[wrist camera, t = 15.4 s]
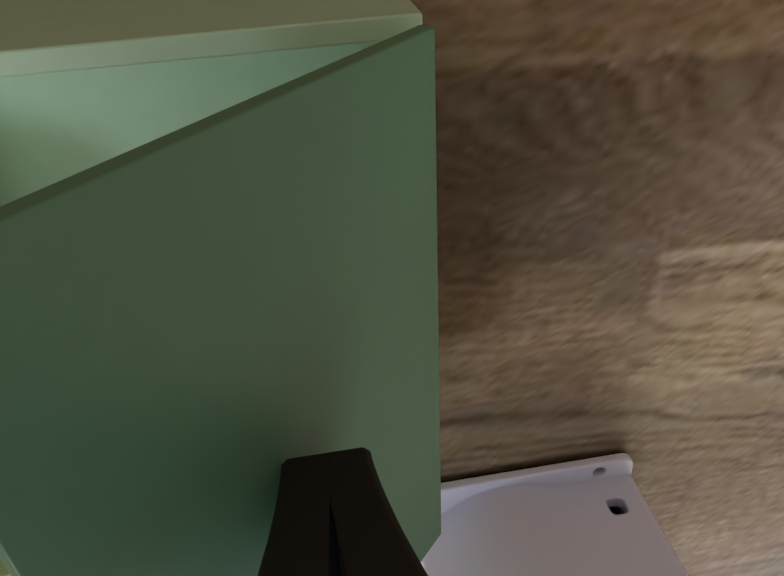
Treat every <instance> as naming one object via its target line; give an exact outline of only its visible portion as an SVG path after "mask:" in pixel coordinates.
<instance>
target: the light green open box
mask: <svg viewBox="0 0 784 576" xmlns="http://www.w3.org/2000/svg"><path fill="white" fill-rule="evenodd" d="M418 25H423V24H422V13H421V12H420V11H419V10H418V8H417V7H416V6H415V5H414V4H413V3H412V1H411V0H0V207H1V206H3V205H5V204H8V203H10V202H12V201H15V200H17V199H19V198H21V197H24V196H26V195H28V194H31V193H33V192H35V191H38V190H40V189H42V188H45V187H47V186H49V185H51V184H54V183H56V182H58V181H61V180H63V179H65V178H68V177H70V176H72V175H74V174H77V173H79V172H81V171H84V170H86V169H88V168H91V167H93V166H95V165H98V164H100V163H102V162H104V161H107V160H109V159H111V158H114V157H116V156H118V155H121V154H123V153H125V152H128V151H130V150H132V149H134V148H137V147H139V146H141V145H144V144H146V143H148V142H151V141H153V140H155V139H158V138H160V137H162V136H164V135H167V134H169V133H171V132H174V131H176V130H178V129H181V128H183V127H185V126H187V125H190V124H192V123H194V122H197V121H199V120H201V119H204V118H206V117H208V116H211V115H213V114H215V113H217V112H220V111H222V110H224V109H227V108H229V107H231V106H234V105H236V104H238V103H241V102H243V101H245V100H247V99H250V98H252V97H254V96H257V95H259V94H261V93H264V92H266V91H268V90H271V89H273V88H275V87H277V86H280V85H282V84H284V83H287V82H289V81H291V80H294V79H296V78H298V77H300V76H303V75H305V74H307V73H310V72H312V71H314V70H317V69H319V68H321V67H324V66H326V65H328V64H330V63H333V62H335V61H337V60H340V59H342V58H344V57H347V56H349V55H351V54H354V53H356V52H358V51H360V50H363V49H365V48H367V47H370V46H372V45H374V44H377V43H379V42H381V41H384V40H386V39H388V38H390V37H393V36H395V35H397V34H400V33H402V32H404V31H407V30H409V29H411V28H413V27H416V26H418ZM0 576H11V575H10V573H9V572H8V570H7V569H6V567H5V566H4V564H3V562H2V561H1V559H0Z"/></svg>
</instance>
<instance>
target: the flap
mask: <svg viewBox="0 0 784 576" xmlns="http://www.w3.org/2000/svg"><path fill="white" fill-rule="evenodd" d="M360 447H364V448H366V449H368V450H369V451H371V455H372V459H373V462H374V466H375V468H376V471H377V474H378V477H379V479H380V482H381V485H382V487H383V489H384V492H385V494H386V496H387V499H388V501H389V503H390V505H391V507H392V509H393V511H394V513H395V515H396V518H397V520H398V522H399V524H400V526H401V528H402V529H403V531H404V533H405V535H406V537H407V539H408V541H409V542H410V544H411V546H412V548H413V550H414V551H415V553H416V555H417V557H418V559H419V560H420V562H421V561H422V560H423V558H424V557H425V556H426V554H427V553H428V551H429V550H430V549H431V547H432V546H433V544H434V543H435V542H436V540H437V539H438V537H439V536H440V535H441V475H440V399H439V322H438V246H437V169H436V93H435V28H434V27H433V26H426V25H418V26H416V27H413V28H411V29H409V30H407V31H404V32H402V33H400V34H397V35H395V36H393V37H390V38H388V39H386V40H384V41H381V42H379V43H377V44H374V45H372V46H370V47H367V48H365V49H363V50H360V51H358V52H356V53H354V54H351V55H349V56H347V57H344V58H342V59H340V60H337V61H335V62H333V63H330V64H328V65H326V66H324V67H321V68H319V69H317V70H314V71H312V72H310V73H307V74H305V75H303V76H300V77H298V78H296V79H294V80H291V81H289V82H287V83H284V84H282V85H280V86H277V87H275V88H273V89H271V90H268V91H266V92H264V93H261V94H259V95H257V96H254V97H252V98H250V99H247V100H245V101H243V102H241V103H238V104H236V105H234V106H231V107H229V108H227V109H224V110H222V111H220V112H217V113H215V114H213V115H211V116H208V117H206V118H204V119H201V120H199V121H197V122H194V123H192V124H190V125H187V126H185V127H183V128H181V129H178V130H176V131H174V132H171V133H169V134H167V135H164V136H162V137H160V138H158V139H155V140H153V141H151V142H148V143H146V144H144V145H141V146H139V147H137V148H134V149H132V150H130V151H128V152H125V153H123V154H121V155H118V156H116V157H114V158H111V159H109V160H107V161H104V162H102V163H100V164H98V165H95V166H93V167H91V168H88V169H86V170H84V171H81V172H79V173H77V174H74V175H72V176H70V177H68V178H65V179H63V180H61V181H58V182H56V183H54V184H51V185H49V186H47V187H45V188H42V189H40V190H38V191H35V192H33V193H31V194H28V195H26V196H24V197H21V198H19V199H17V200H15V201H12V202H10V203H8V204H5V205H3V206H1V207H0V559H1V561H2V562H3V564H4V566H5V567H6V569H7V570H8V572H9V573H10V575H11V576H258V572H259V569H260V565H261V562H262V558H263V555H264V552H265V548H266V545H267V541H268V537H269V533H270V528H271V524H272V520H273V516H274V511H275V506H276V501H277V496H278V489H279V483H280V474H281V465H282V464H283V463H284V462H285V461H286V460H287V459H290V458H296V457H303V456H309V455H315V454H322V453H328V452H335V451H341V450H347V449H354V448H360Z"/></svg>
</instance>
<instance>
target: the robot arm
mask: <svg viewBox="0 0 784 576" xmlns="http://www.w3.org/2000/svg"><path fill="white" fill-rule="evenodd" d="M632 468H633V461H632V459H631V458H630V456H629V455H628V454H625V453H618V454H612V455H606V456H600V457H594V458H588V459H582V460H576V461H570V462H564V463H558V464H552V465H546V466H540V467H534V468H528V469H522V470H516V471H510V472H503V473H497V474H491V475H485V476H479V477H473V478H467V479H461V480H455V481H449V482H443V483H441V535H440V536H439V537H438V539H437V540H436V542H435V543H434V544H433V546H432V547H431V549H430V550H429V551H428V553H427V554H426V556H425V557H424V558H423V560H422V561H421V562H420V560H419V559H418V557H417V555H416V553H415V551H414V550H413V548H412V546H411V544H410V542H409V541H408V539H407V537H406V535H405V533H404V531H403V529H402V528H401V526H400V524H399V522H398V520H397V518H396V515H395V513H394V511H393V509H392V507H391V505H390V503H389V501H388V499H387V496H386V494H385V492H384V489H383V487H382V485H381V482H380V479H379V477H378V474H377V471H376V468H375V466H374V462H373V459H372V455H371V451H369V450H368V449H366V448H364V447H360V448H354V449H347V450H341V451H335V452H328V453H322V454H315V455H309V456H303V457H296V458H290V459H287V460H286V461H285V462H284V463H283V464H282V465H281V474H280V483H279V489H278V496H277V501H276V506H275V511H274V516H273V520H272V524H271V528H270V533H269V537H268V541H267V545H266V548H265V552H264V555H263V558H262V562H261V565H260V569H259V572H258V576H689V575H688V574H687V572H686V570H685V568H684V567H683V565H682V563H681V561H680V560H679V558H678V556H677V554H676V553H675V551H674V549H673V547H672V546H671V544H670V542H669V541H668V539H667V537H666V535H665V534H664V532H663V530H662V528H661V527H660V525H659V523H658V521H657V520H656V518H655V516H654V514H653V513H652V511H651V509H650V507H649V506H648V504H647V502H646V500H645V499H644V497H643V495H642V493H641V492H640V490H639V488H638V487H637V485H636V483H635V481H634V480H633V478H632V476H631V473H632Z"/></svg>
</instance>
